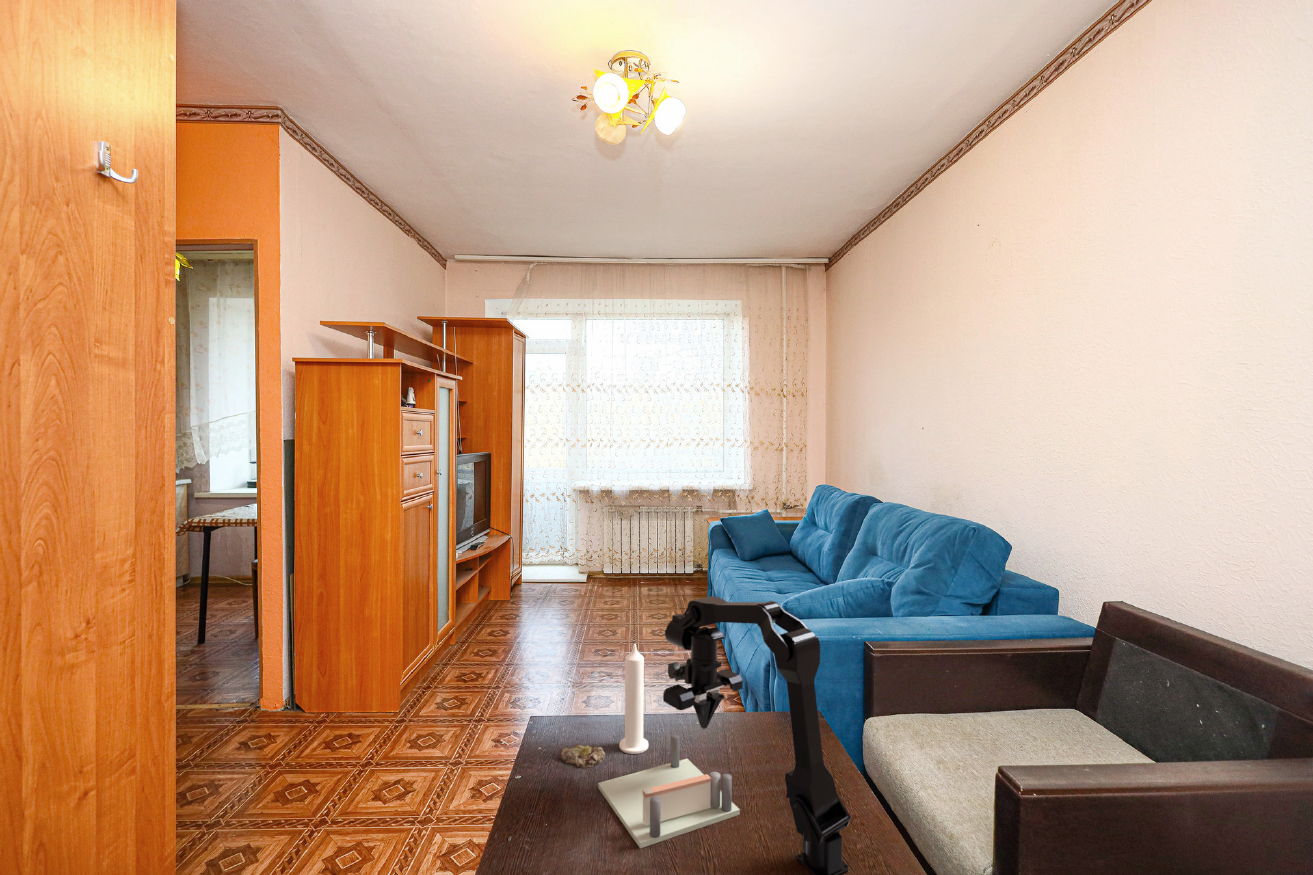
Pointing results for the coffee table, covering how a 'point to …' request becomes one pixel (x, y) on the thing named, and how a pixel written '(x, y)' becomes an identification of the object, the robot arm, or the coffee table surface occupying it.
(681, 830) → the gate base
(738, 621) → the robot arm
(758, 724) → the coffee table surface
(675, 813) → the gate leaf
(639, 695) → the candle
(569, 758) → the mineral rock
